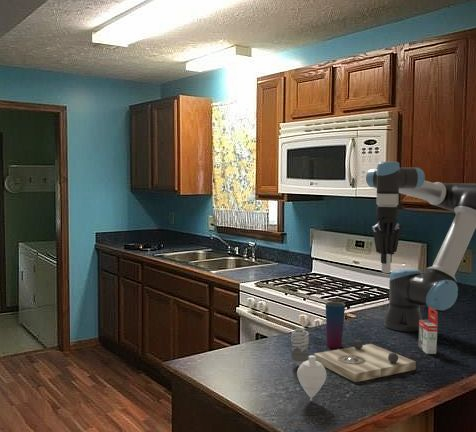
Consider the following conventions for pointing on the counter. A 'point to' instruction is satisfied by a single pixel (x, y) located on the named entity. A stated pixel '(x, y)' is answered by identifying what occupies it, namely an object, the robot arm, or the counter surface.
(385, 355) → the board
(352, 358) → the steel ball
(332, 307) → the cup
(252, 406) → the counter surface
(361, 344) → the black rubber ball
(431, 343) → the ink box
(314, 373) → the spinning top
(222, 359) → the counter surface
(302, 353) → the light bulb
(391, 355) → the black rubber ball
